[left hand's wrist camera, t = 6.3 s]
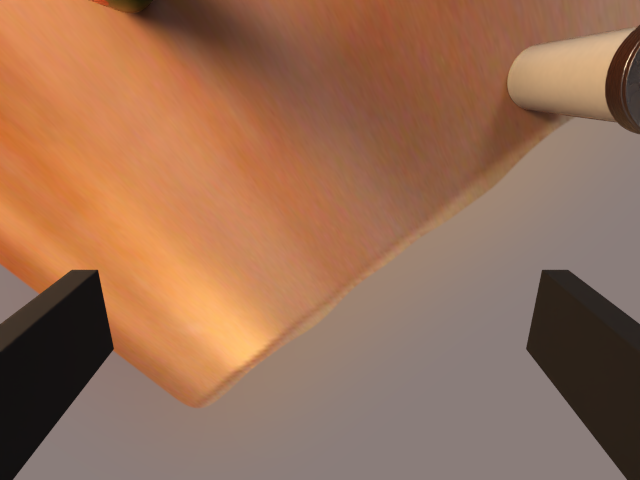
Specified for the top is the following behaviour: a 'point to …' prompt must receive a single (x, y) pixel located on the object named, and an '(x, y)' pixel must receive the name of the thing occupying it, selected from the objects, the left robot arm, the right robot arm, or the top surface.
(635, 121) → the lid
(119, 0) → the soda can
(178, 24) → the top surface
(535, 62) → the screw-top jar
